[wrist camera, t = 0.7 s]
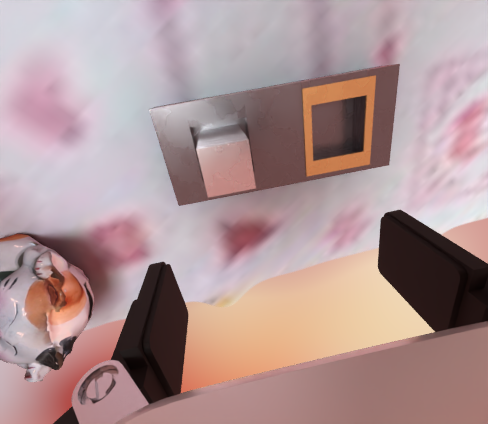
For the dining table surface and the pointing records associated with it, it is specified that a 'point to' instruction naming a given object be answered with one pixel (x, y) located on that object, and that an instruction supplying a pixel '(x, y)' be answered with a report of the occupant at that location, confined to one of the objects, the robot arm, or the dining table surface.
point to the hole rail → (287, 129)
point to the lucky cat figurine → (39, 305)
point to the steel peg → (225, 160)
